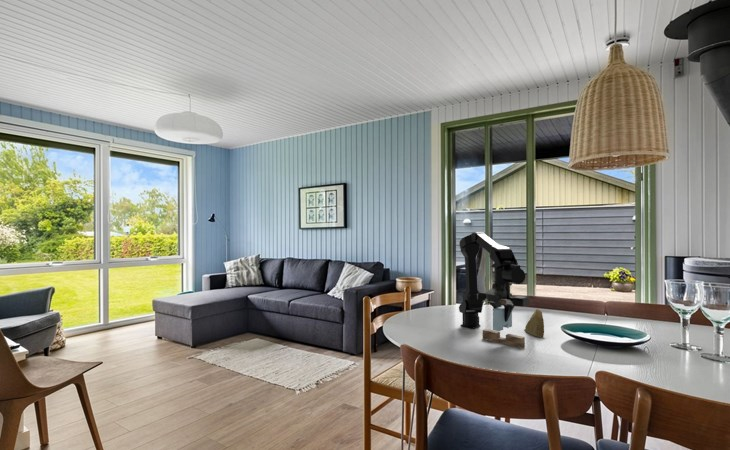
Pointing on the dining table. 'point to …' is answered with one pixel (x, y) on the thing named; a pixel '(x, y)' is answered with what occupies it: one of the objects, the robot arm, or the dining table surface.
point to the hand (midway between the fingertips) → (502, 320)
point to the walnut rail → (509, 340)
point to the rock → (535, 324)
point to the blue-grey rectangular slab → (500, 319)
